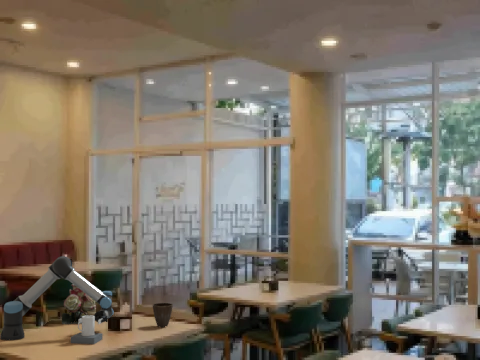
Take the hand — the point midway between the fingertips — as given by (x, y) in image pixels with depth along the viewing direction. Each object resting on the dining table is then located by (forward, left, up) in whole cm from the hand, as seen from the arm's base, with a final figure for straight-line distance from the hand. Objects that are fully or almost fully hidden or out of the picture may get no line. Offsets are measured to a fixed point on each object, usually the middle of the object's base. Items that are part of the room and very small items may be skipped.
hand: (88, 321), depth 384 cm
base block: (0, -2, -12) cm, 12 cm away
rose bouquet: (-33, +62, -13) cm, 72 cm away
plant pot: (+35, +55, -13) cm, 67 cm away
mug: (-1, -2, -9) cm, 9 cm away
